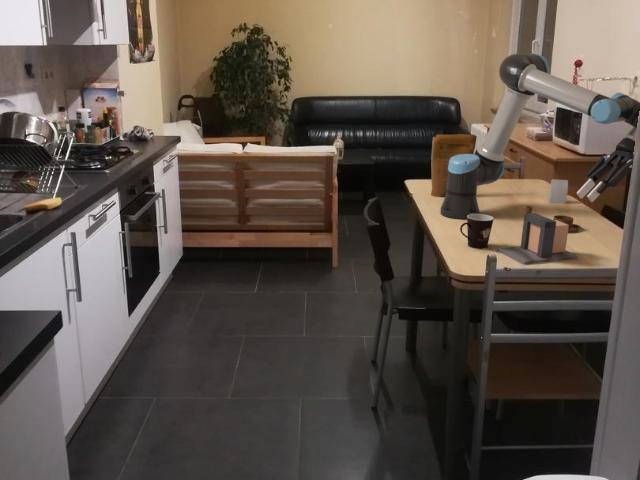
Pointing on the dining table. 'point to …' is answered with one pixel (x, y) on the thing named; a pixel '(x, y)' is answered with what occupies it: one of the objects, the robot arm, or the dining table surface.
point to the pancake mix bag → (447, 157)
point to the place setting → (561, 220)
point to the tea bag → (558, 191)
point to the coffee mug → (478, 230)
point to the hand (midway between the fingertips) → (584, 197)
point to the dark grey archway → (545, 233)
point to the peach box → (559, 237)
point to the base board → (534, 255)
